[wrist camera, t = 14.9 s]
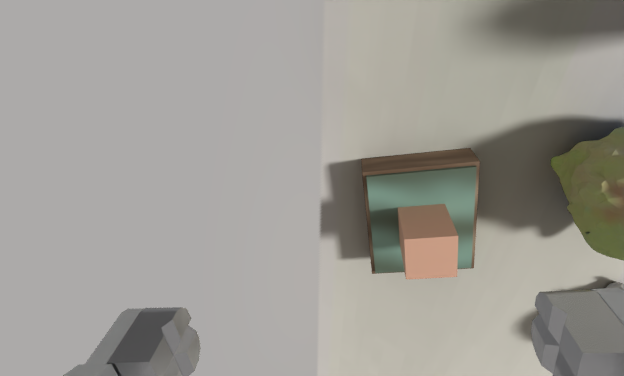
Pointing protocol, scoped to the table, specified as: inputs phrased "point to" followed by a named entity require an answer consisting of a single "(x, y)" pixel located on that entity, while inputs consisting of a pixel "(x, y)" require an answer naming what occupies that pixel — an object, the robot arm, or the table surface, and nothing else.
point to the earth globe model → (596, 190)
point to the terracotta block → (428, 241)
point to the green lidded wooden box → (419, 200)
